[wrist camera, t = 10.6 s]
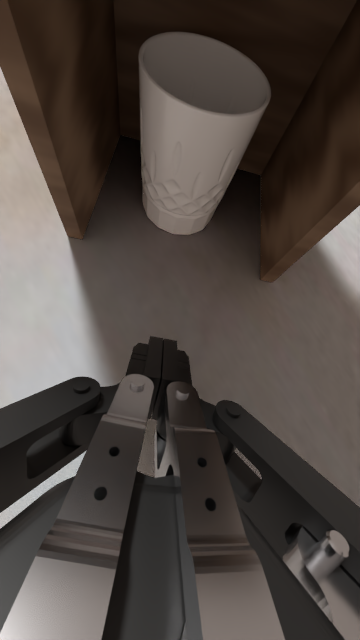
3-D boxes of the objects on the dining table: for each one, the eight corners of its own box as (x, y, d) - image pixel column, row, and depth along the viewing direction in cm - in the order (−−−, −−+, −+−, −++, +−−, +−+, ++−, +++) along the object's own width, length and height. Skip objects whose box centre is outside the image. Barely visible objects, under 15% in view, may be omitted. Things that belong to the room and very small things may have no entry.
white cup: (231, 217, 23) (295, 93, 14) (176, 255, 20) (210, 133, 11) (179, 167, 24) (206, 23, 15) (119, 198, 21) (107, 42, 12)
